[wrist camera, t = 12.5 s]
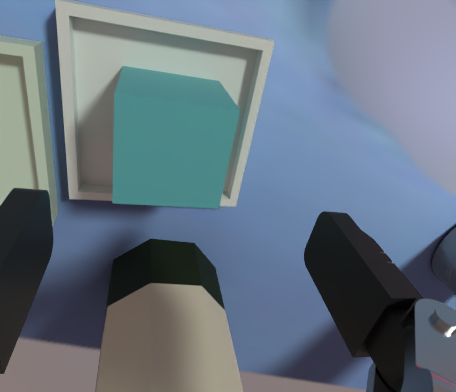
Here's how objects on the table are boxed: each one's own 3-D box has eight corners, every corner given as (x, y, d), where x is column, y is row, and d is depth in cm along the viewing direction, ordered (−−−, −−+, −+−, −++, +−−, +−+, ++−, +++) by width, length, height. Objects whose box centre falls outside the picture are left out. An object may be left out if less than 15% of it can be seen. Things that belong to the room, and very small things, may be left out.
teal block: (219, 80, 18) (240, 110, 14) (204, 163, 20) (218, 208, 16) (122, 65, 17) (114, 93, 12) (120, 155, 19) (112, 203, 15)
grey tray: (266, 37, 18) (274, 41, 16) (231, 195, 23) (235, 206, 22) (62, -2, 15) (55, -1, 14) (73, 186, 20) (69, 198, 19)
